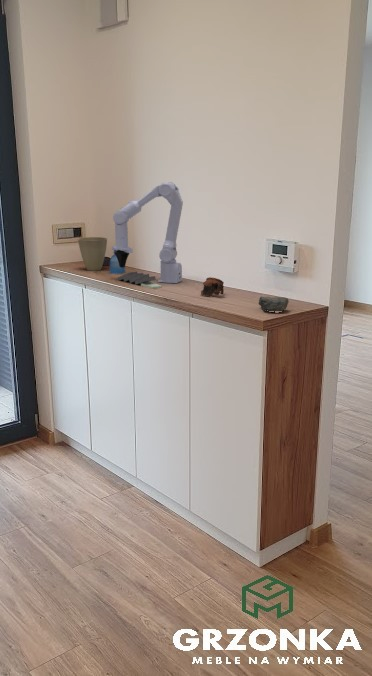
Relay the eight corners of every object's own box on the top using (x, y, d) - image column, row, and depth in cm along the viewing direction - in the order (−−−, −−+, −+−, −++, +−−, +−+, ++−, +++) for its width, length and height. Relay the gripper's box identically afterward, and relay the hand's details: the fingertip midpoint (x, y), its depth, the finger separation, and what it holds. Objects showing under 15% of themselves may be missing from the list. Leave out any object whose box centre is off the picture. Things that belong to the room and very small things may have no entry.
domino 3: (129, 279, 266) (139, 275, 259) (138, 278, 269) (148, 273, 262) (130, 283, 266) (140, 278, 259) (139, 281, 269) (149, 277, 262)
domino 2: (123, 278, 270) (133, 273, 263) (132, 277, 273) (143, 272, 266) (124, 281, 270) (134, 277, 263) (133, 280, 273) (143, 276, 266)
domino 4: (134, 281, 263) (145, 277, 256) (143, 279, 266) (154, 276, 259) (135, 284, 263) (146, 280, 256) (144, 283, 266) (155, 279, 259)
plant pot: (77, 268, 310) (76, 237, 306) (105, 266, 314) (104, 236, 310) (81, 272, 296) (79, 240, 292) (110, 271, 300) (109, 239, 296)
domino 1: (117, 277, 273) (128, 272, 266) (126, 276, 276) (137, 271, 269) (118, 280, 273) (128, 276, 266) (127, 279, 276) (137, 274, 269)
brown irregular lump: (194, 295, 242) (200, 277, 243) (213, 304, 246) (218, 285, 248) (210, 293, 231) (216, 273, 233) (229, 301, 236) (235, 282, 237)
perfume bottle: (124, 271, 299) (124, 248, 295) (122, 273, 293) (121, 249, 289) (112, 271, 299) (112, 247, 296) (110, 273, 293) (109, 249, 290)
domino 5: (140, 283, 260) (152, 286, 253) (150, 282, 263) (162, 285, 256) (140, 286, 260) (152, 290, 254) (150, 285, 263) (162, 289, 257)
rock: (293, 311, 212) (294, 297, 211) (274, 315, 206) (274, 301, 205) (268, 305, 222) (268, 292, 220) (249, 309, 216) (249, 295, 214)
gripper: (105, 236, 273) (106, 266, 277) (122, 239, 262) (123, 269, 266) (118, 236, 277) (119, 264, 281) (136, 238, 267) (136, 268, 270)
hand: (122, 267), depth 274 cm, fingers closed
